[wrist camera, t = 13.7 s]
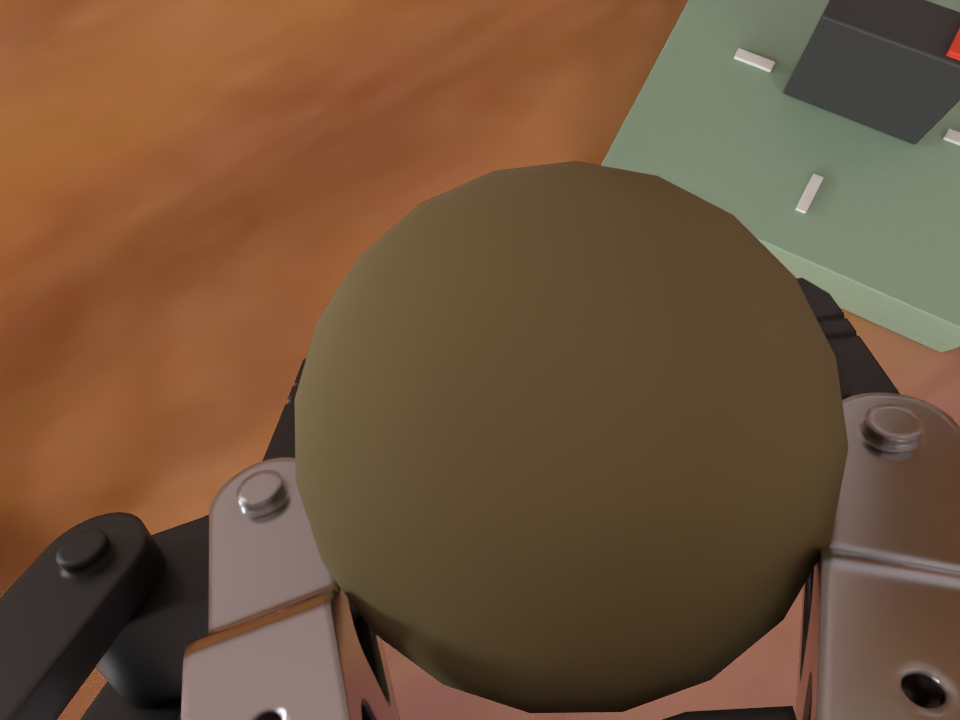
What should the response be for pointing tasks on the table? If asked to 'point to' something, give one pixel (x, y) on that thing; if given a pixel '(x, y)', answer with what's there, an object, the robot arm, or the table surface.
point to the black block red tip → (882, 65)
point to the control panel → (803, 166)
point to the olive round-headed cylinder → (570, 438)
